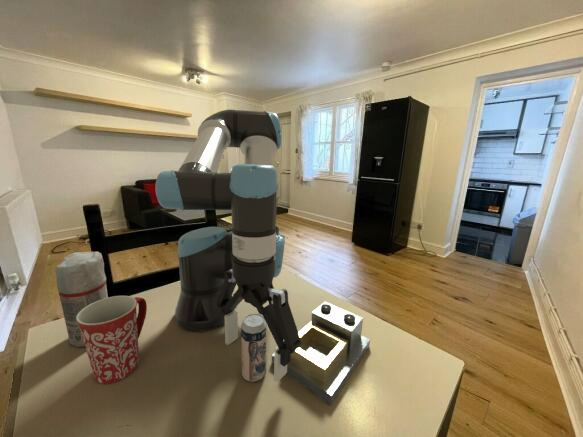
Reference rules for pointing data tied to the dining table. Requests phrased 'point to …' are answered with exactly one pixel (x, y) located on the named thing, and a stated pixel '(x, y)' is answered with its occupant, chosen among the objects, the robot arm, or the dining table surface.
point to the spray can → (80, 288)
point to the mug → (112, 336)
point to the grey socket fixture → (328, 351)
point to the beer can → (253, 347)
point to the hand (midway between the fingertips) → (254, 357)
